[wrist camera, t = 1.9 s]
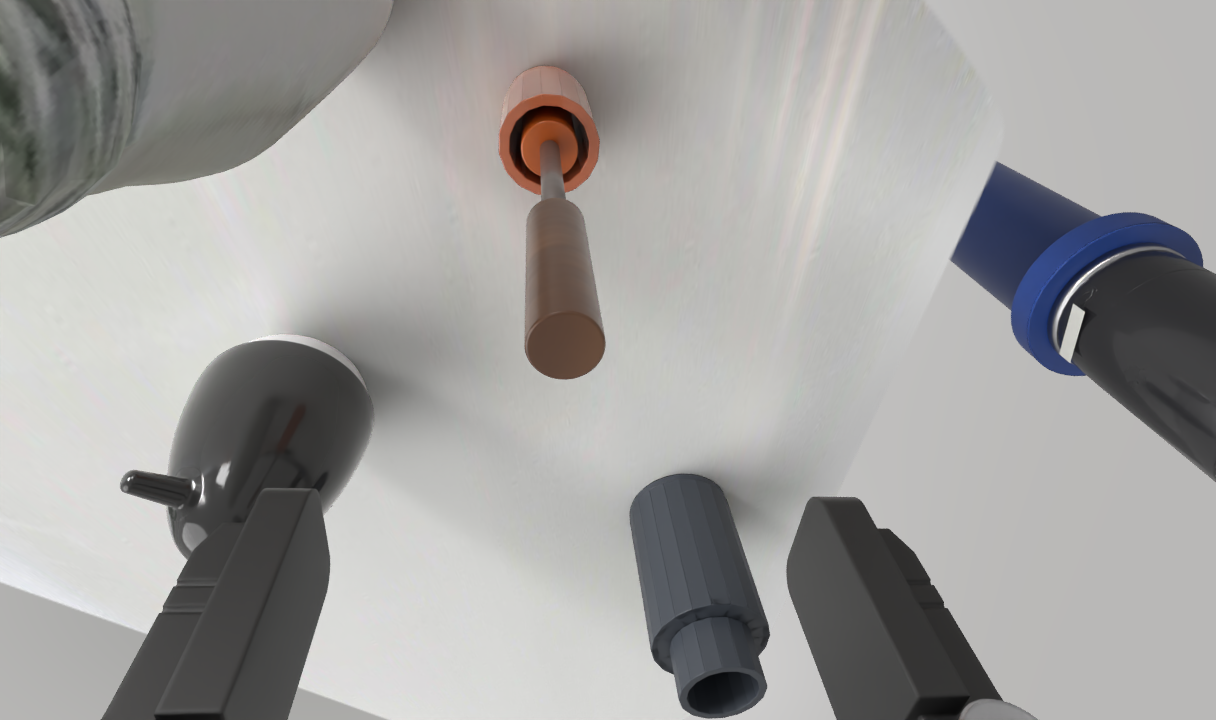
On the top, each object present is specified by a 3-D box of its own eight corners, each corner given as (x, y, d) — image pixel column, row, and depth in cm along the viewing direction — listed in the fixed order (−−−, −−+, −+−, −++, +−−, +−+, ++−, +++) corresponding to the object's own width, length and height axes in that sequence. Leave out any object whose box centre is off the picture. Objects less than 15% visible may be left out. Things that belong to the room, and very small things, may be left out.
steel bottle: (734, 474, 53) (799, 653, 40) (716, 544, 58) (770, 726, 45) (635, 473, 52) (670, 656, 39) (624, 544, 57) (652, 731, 44)
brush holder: (591, 69, 37) (603, 99, 31) (585, 155, 39) (594, 198, 33) (504, 61, 36) (499, 90, 30) (503, 150, 38) (498, 192, 33)
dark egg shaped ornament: (291, 276, 41) (183, 437, 28) (417, 385, 46) (374, 563, 34) (182, 367, 44) (40, 552, 31) (313, 461, 49) (236, 652, 36)
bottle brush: (572, 89, 36) (623, 302, 16) (569, 139, 38) (612, 391, 18) (523, 85, 36) (513, 298, 16) (521, 135, 38) (511, 389, 17)
